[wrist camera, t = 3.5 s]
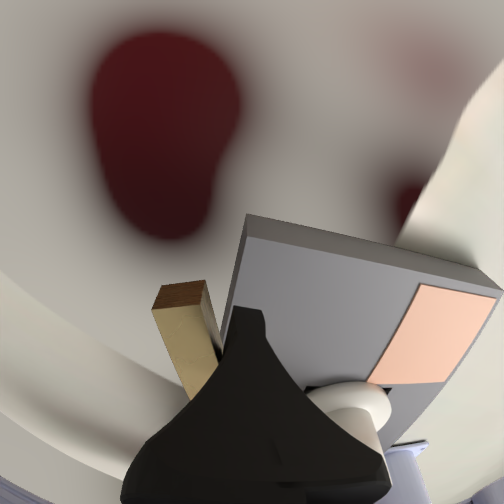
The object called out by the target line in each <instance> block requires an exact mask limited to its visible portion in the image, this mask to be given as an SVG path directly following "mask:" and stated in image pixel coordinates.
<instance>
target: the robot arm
mask: <svg viewBox="0 0 504 504" xmlns="http://www.w3.org/2000/svg"><path fill="white" fill-rule="evenodd" d="M428 445H429V442H428V441H426V442H421V443H415V444H410V445H404V446H397V447H391V448H389V449H388V450H387V451H386V452H385V453H384V457H385V460H386V463H387V466H386V464H385V461H384V459H383V457H382V455H381V454H380V453H378V452H376V451H375V450H373V449H372V448H370V447H368V446H367V445H365V444H364V443H362V442H361V441H359V440H357V439H356V438H354V437H353V436H352V435H350V434H349V433H348V432H346V431H345V430H344V429H342V428H341V427H340V426H339V425H337V424H336V423H335V422H334V421H333V420H331V419H330V418H329V417H328V416H327V415H326V414H325V413H324V412H323V411H322V410H321V409H319V408H318V407H317V406H316V405H315V404H314V403H313V402H312V401H311V400H310V399H309V398H308V397H307V395H306V394H305V393H304V392H303V391H302V390H301V389H300V387H299V386H298V385H297V384H296V383H295V381H294V380H293V379H292V377H291V376H290V375H289V373H288V372H287V371H286V369H285V368H284V366H283V365H282V363H281V362H280V360H279V359H278V357H277V355H276V354H275V352H274V350H273V349H272V347H271V345H270V344H269V342H268V340H267V338H266V324H265V319H264V315H263V313H262V310H259V309H253V308H247V307H241V306H236V305H233V309H232V314H231V318H230V322H229V326H228V331H227V335H226V339H225V343H224V348H223V355H222V360H221V361H220V363H219V364H218V366H217V368H216V369H215V371H214V372H213V373H212V375H211V376H210V378H209V379H208V380H207V382H206V383H205V384H204V386H203V387H202V388H201V389H200V391H199V392H198V393H197V394H196V395H195V397H194V398H193V399H192V400H191V401H190V402H189V403H188V404H187V405H186V406H185V407H184V408H183V409H182V410H181V411H180V412H179V413H178V414H177V415H176V416H175V417H174V418H173V419H172V420H171V421H170V422H169V423H168V424H167V425H166V426H164V427H163V428H162V429H161V430H159V431H158V432H157V433H156V434H155V435H153V436H152V437H151V438H150V439H148V440H147V441H146V442H145V444H144V445H143V447H142V448H141V450H140V451H139V453H138V454H137V456H136V457H135V459H134V460H133V462H132V463H131V465H130V467H129V469H128V471H127V473H126V475H125V478H124V481H123V485H122V490H121V495H120V501H121V503H122V504H432V503H431V500H430V497H429V494H428V491H427V488H426V485H425V483H424V480H423V477H422V474H421V472H420V469H419V466H418V463H417V461H416V458H415V457H417V456H418V455H419V454H420V453H421V452H422V451H423V450H424V449H425V448H426V447H427V446H428ZM387 467H388V470H389V473H390V477H391V480H392V484H393V485H392V484H391V480H390V477H389V473H388V470H387ZM0 504H53V503H51V502H49V501H47V500H45V499H42V498H40V497H38V496H36V495H34V494H32V493H30V492H28V491H26V490H24V489H23V488H21V487H19V486H17V485H15V484H13V483H12V482H10V481H8V480H6V479H5V478H3V477H1V476H0ZM457 504H504V477H501V478H500V479H498V480H496V481H494V482H492V483H490V484H489V485H487V486H485V487H484V488H482V489H481V490H479V491H478V492H477V493H475V494H474V495H473V496H472V497H470V498H468V499H466V500H464V501H462V502H459V503H457Z"/></svg>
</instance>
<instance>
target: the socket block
mask: <svg viewBox="0 0 504 504" xmlns="http://www.w3.org/2000/svg"><path fill="white" fill-rule="evenodd" d="M503 293H504V290H502V289H501V288H500V287H499V286H498V285H497V284H496V283H495V282H494V281H492V280H491V279H490V278H489V277H488V276H487V275H485V274H484V273H483V272H482V271H481V270H479V269H475V268H472V267H468V266H465V265H461V264H457V263H454V262H450V261H446V260H443V259H439V258H435V257H431V256H428V255H424V254H420V253H416V252H412V251H408V250H404V249H400V248H396V247H392V246H388V245H384V244H380V243H376V242H372V241H368V240H364V239H359V238H355V237H351V236H347V235H343V234H338V233H334V232H329V231H325V230H320V229H316V228H312V227H307V226H302V225H298V224H293V223H289V222H284V221H279V220H275V219H270V218H264V217H260V216H255V215H251V214H246V218H245V222H244V226H243V231H242V235H241V240H240V244H239V249H238V253H237V257H236V262H235V266H234V271H233V275H232V280H231V285H230V289H229V294H228V298H227V303H226V307H225V312H224V316H223V321H222V326H221V330H220V337H221V341H222V344H223V348H224V343H225V339H226V335H227V331H228V326H229V322H230V318H231V314H232V309H233V305H236V306H241V307H247V308H253V309H259V310H262V313H263V315H264V319H265V324H266V338H267V340H268V342H269V344H270V345H271V347H272V349H273V350H274V352H275V354H276V355H277V357H278V359H279V360H280V362H281V363H282V365H283V366H284V368H285V369H286V371H287V372H288V373H289V375H290V376H291V377H292V379H293V380H294V381H295V383H296V384H297V385H298V386H299V387H300V389H301V390H302V391H304V390H305V388H306V386H321V387H325V386H328V385H332V384H337V383H343V382H355V381H360V382H368V383H373V384H376V385H378V386H380V387H381V388H382V389H383V390H384V391H385V392H386V394H387V397H388V399H389V402H390V404H391V415H390V417H389V419H388V421H387V422H386V423H385V425H384V426H383V427H382V428H381V429H380V430H379V431H377V435H378V438H379V441H380V444H381V447H382V451H383V454H384V453H385V452H386V451H387V450H388V449H389V448H390V447H391V446H392V445H393V444H394V443H395V442H396V441H397V440H398V439H399V438H400V437H401V436H402V435H403V434H404V433H405V432H406V430H407V429H408V428H409V427H410V426H411V425H412V424H413V423H414V422H415V421H416V420H417V418H418V417H419V416H420V415H421V414H422V413H423V412H424V410H425V409H426V408H427V407H428V406H429V405H430V403H431V402H432V401H433V400H434V398H435V397H436V396H437V395H438V394H439V392H440V391H441V390H442V388H443V387H444V386H445V385H446V383H447V382H448V381H449V379H450V378H451V377H452V375H453V374H454V373H455V371H456V370H457V368H458V367H459V366H460V364H461V363H462V361H463V360H464V358H465V357H466V355H467V354H468V352H469V351H470V349H471V348H472V346H473V345H474V343H475V342H476V340H477V339H478V337H479V335H480V334H481V332H482V330H483V329H484V327H485V325H486V324H487V322H488V320H489V318H490V317H491V315H492V313H493V311H494V310H495V308H496V306H497V304H498V302H499V300H500V298H501V296H502V295H503Z"/></svg>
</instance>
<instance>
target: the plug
mask: <svg viewBox="0 0 504 504" xmlns="http://www.w3.org/2000/svg"><path fill="white" fill-rule="evenodd" d="M303 392H304V393H305V394H306V395H307V397H308V398H309V399H310V400H311V401H312V402H313V403H314V404H315V405H316V406H317V407H318V408H319V409H321V410H322V411H323V412H324V413H325V414H326V415H327V416H328V417H329V418H330V419H331V420H333V421H334V422H335V423H336V424H337V425H339V426H340V427H341V428H342V429H344V430H345V431H346V432H348V433H349V434H350V435H352V436H353V437H354V438H356V439H357V440H359V441H361V442H362V443H364V444H365V445H367V446H368V447H370V448H372V449H373V450H375V451H376V452H378V453H380V454H381V455H382V457H383V459H384V461H385V464H386V466H387V463H386V460H385V457H384V454H383V451H382V447H381V444H380V441H379V438H378V435H377V431H379V430H380V429H381V428H382V427H383V426H384V425H385V423H386V422H387V421H388V419H389V417H390V415H391V404H390V402H389V399H388V397H387V394H386V392H385V391H384V390H383V389H382V388H381V387H380V386H378V385H376V384H373V383H368V382H360V381H355V382H343V383H337V384H332V385H328V386H325V387H321V386H306V388H305V390H304V391H303ZM387 470H388V467H387ZM388 473H389V470H388ZM389 477H390V473H389ZM390 480H391V477H390ZM391 484H392V480H391ZM392 485H393V484H392Z"/></svg>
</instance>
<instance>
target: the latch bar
mask: <svg viewBox="0 0 504 504" xmlns="http://www.w3.org/2000/svg"><path fill="white" fill-rule="evenodd" d="M151 310H152V313H153V315H154V318H155V321H156V323H157V326H158V329H159V331H160V334H161V336H162V338H163V341H164V343H165V345H166V348H167V350H168V353H169V355H170V357H171V360H172V362H173V364H174V366H175V369H176V371H177V373H178V375H179V378H180V380H181V382H182V384H183V386H184V389H185V391H186V393H187V395H188V397H189V399H190V401H191V400H192V399H193V398H194V397H195V395H196V394H197V393H198V392H199V391H200V389H201V388H202V387H203V386H204V384H205V383H206V382H207V380H208V379H209V378H210V376H211V375H212V373H213V372H214V371H215V369H216V368H217V366H218V364H219V363H220V361H221V360H222V355H223V344H222V341H221V337H220V333H219V330H218V327H217V323H216V319H215V316H214V311H213V308H212V304H211V300H210V296H209V292H208V288H207V285H206V281H205V280H199V281H192V282H185V283H176V284H169V285H162V286H161V288H160V290H159V293H158V295H157V297H156V300H155V302H154V305H153V307H152V309H151Z"/></svg>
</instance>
